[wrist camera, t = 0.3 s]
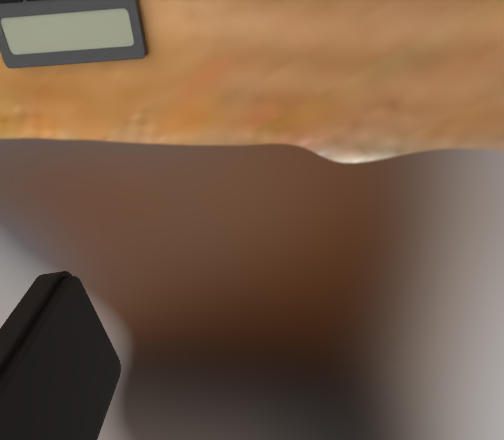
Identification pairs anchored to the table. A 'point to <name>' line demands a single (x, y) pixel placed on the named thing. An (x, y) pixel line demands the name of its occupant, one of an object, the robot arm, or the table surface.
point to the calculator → (69, 32)
